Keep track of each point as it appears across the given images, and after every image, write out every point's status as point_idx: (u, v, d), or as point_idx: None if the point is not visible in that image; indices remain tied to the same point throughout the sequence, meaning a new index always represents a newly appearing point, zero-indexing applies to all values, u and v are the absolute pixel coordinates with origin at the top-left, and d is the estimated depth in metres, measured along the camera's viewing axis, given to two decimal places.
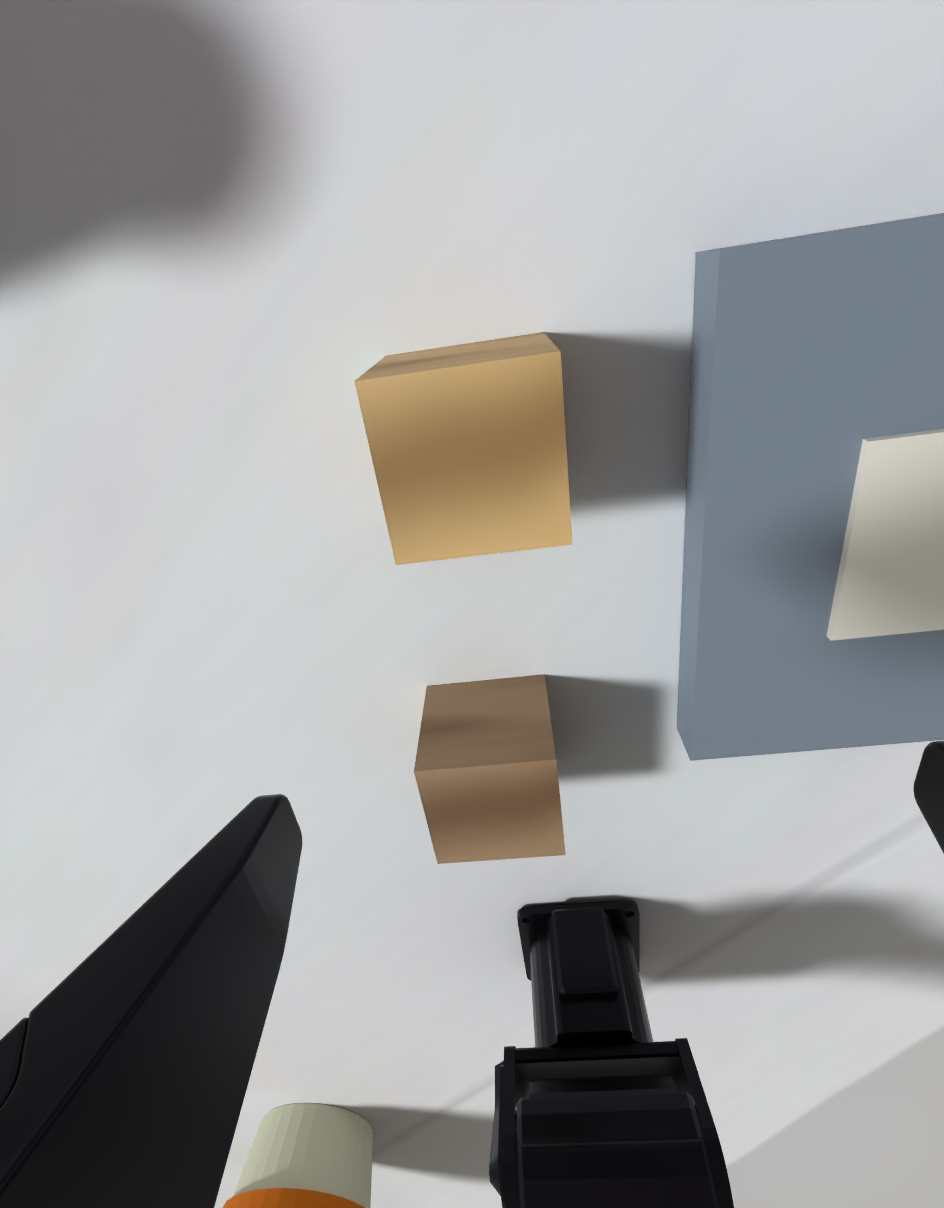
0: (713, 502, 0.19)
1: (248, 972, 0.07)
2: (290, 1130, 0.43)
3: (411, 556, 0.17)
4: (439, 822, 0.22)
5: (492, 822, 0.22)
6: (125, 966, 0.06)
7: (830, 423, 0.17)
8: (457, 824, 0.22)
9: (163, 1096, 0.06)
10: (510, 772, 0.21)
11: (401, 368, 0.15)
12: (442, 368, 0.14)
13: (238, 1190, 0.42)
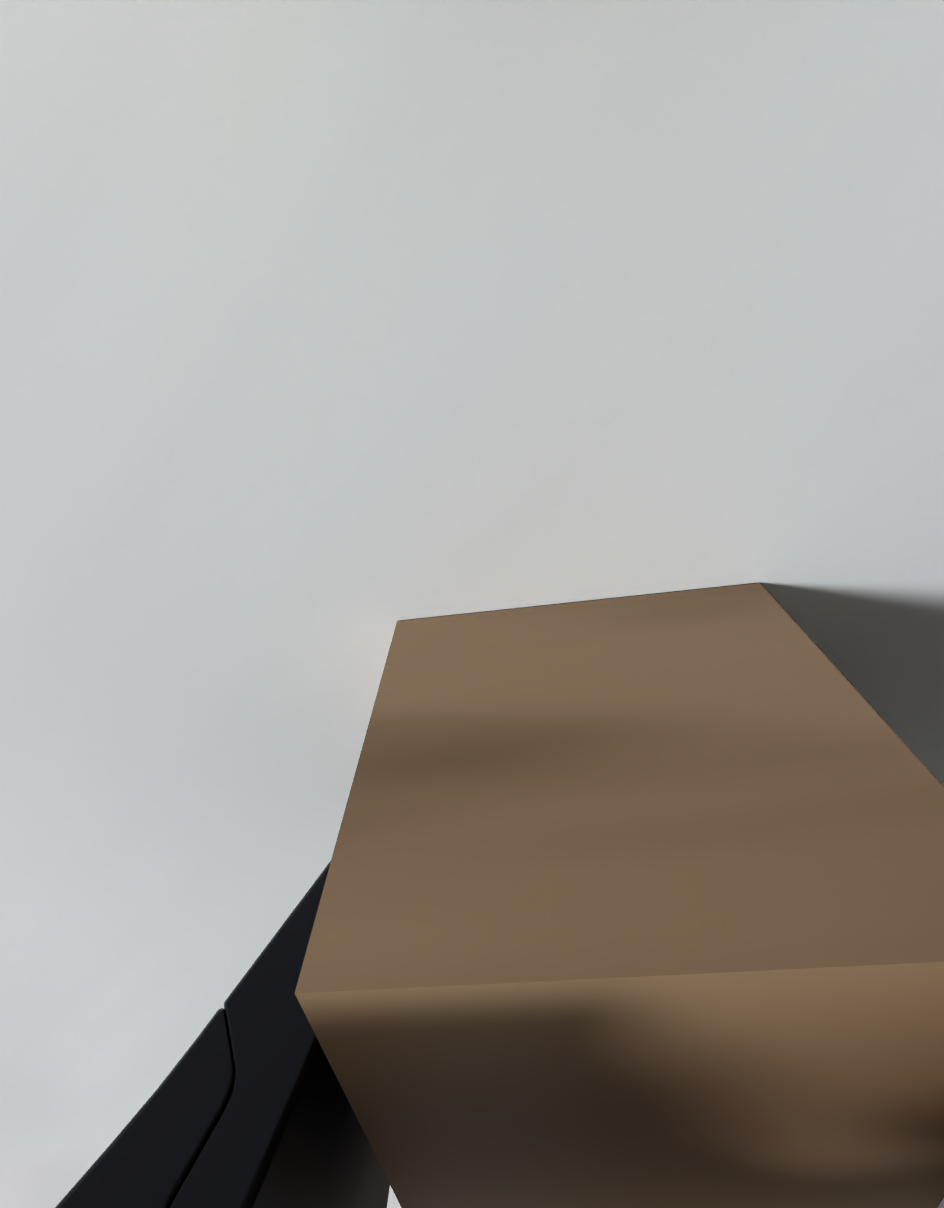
0: None
1: None
2: None
3: None
4: (427, 1159, 0.05)
5: (654, 1165, 0.05)
6: None
7: None
8: (502, 1166, 0.05)
9: None
10: (804, 1008, 0.04)
11: None
12: None
13: None
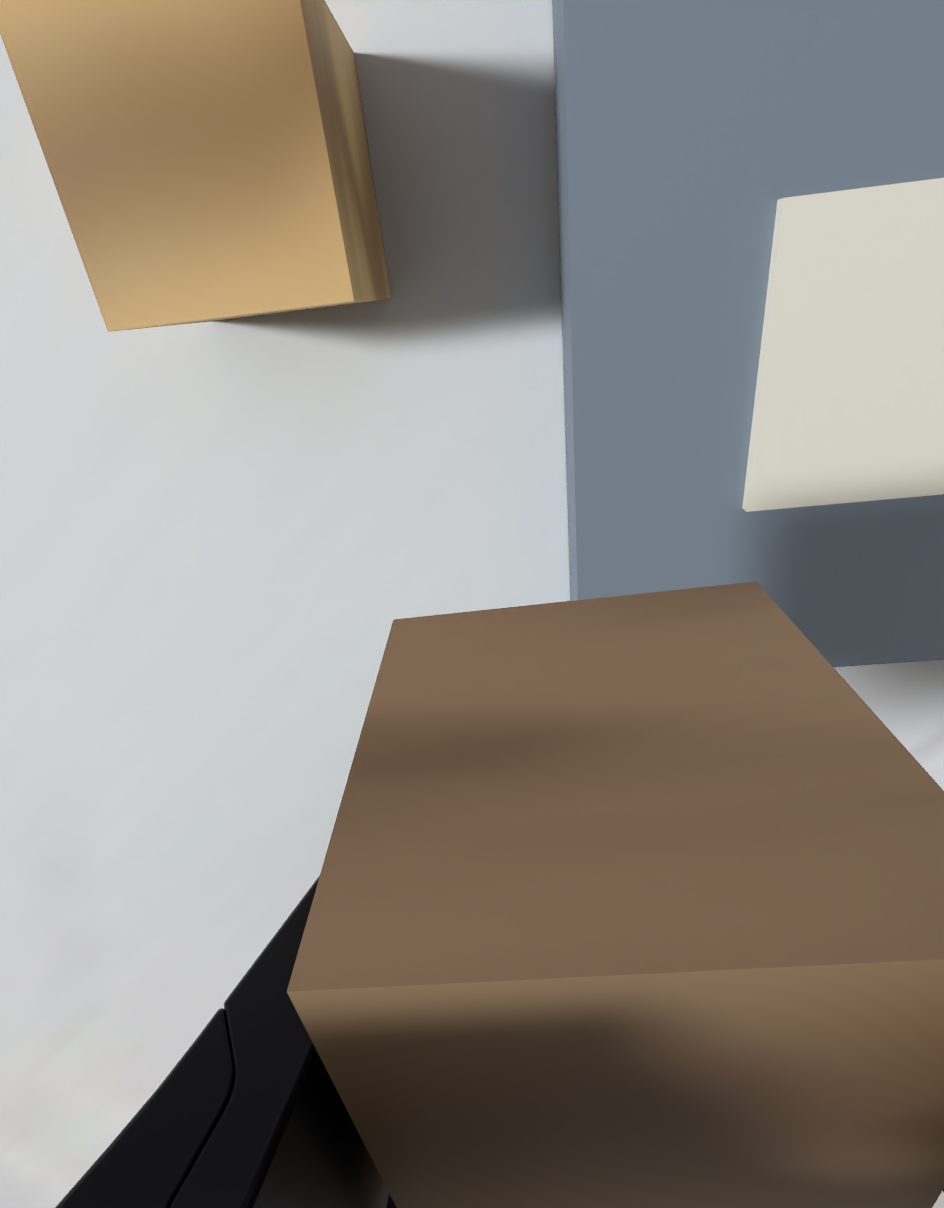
0: (581, 297, 0.14)
1: None
2: None
3: (127, 317, 0.12)
4: (422, 1158, 0.05)
5: (648, 1165, 0.05)
6: None
7: (731, 172, 0.13)
8: (496, 1163, 0.05)
9: None
10: (797, 1006, 0.04)
11: None
12: None
13: None
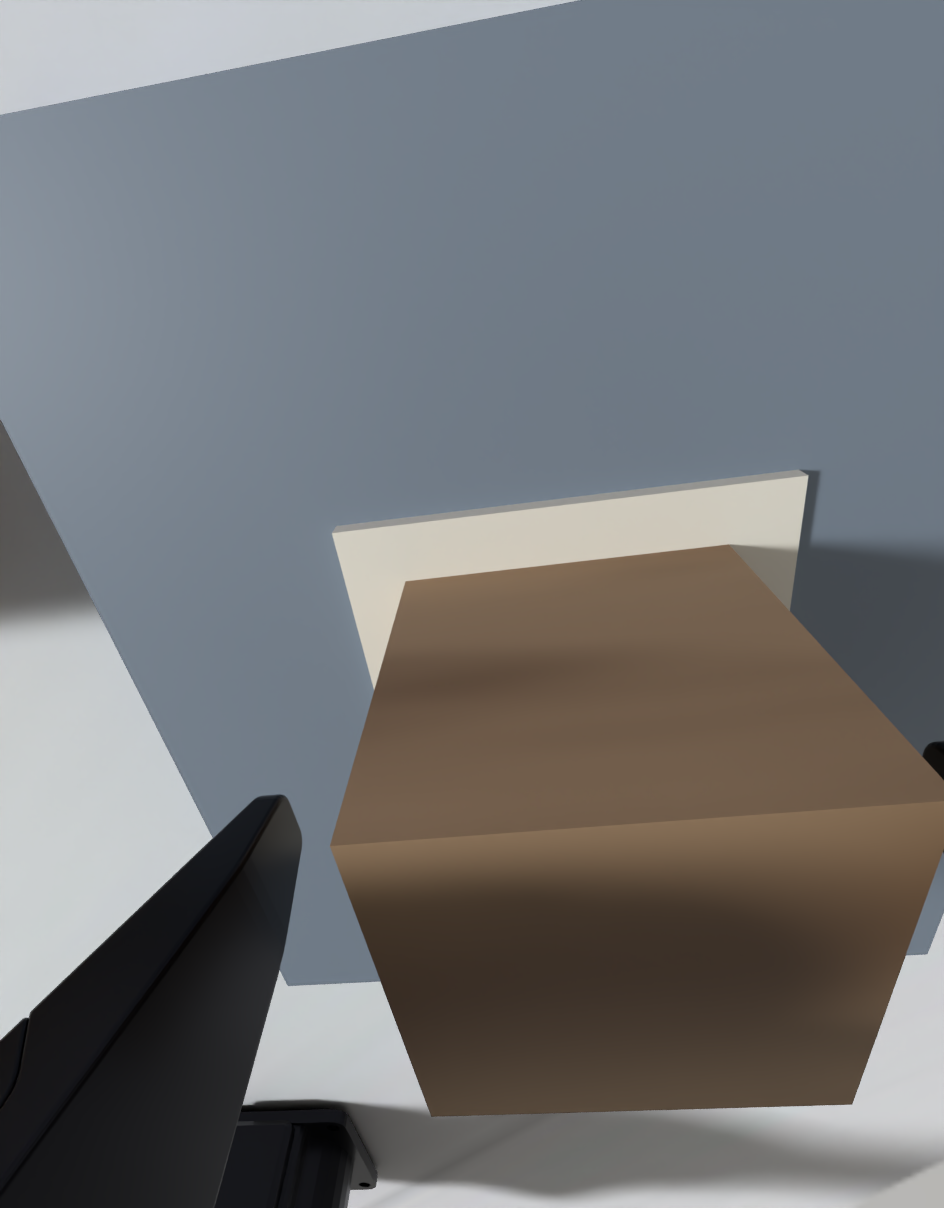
0: (122, 631, 0.10)
1: (248, 972, 0.07)
2: None
3: None
4: (435, 1014, 0.06)
5: (626, 1018, 0.06)
6: (125, 966, 0.06)
7: (262, 498, 0.09)
8: (499, 1021, 0.06)
9: (163, 1096, 0.06)
10: (737, 854, 0.05)
11: None
12: None
13: None
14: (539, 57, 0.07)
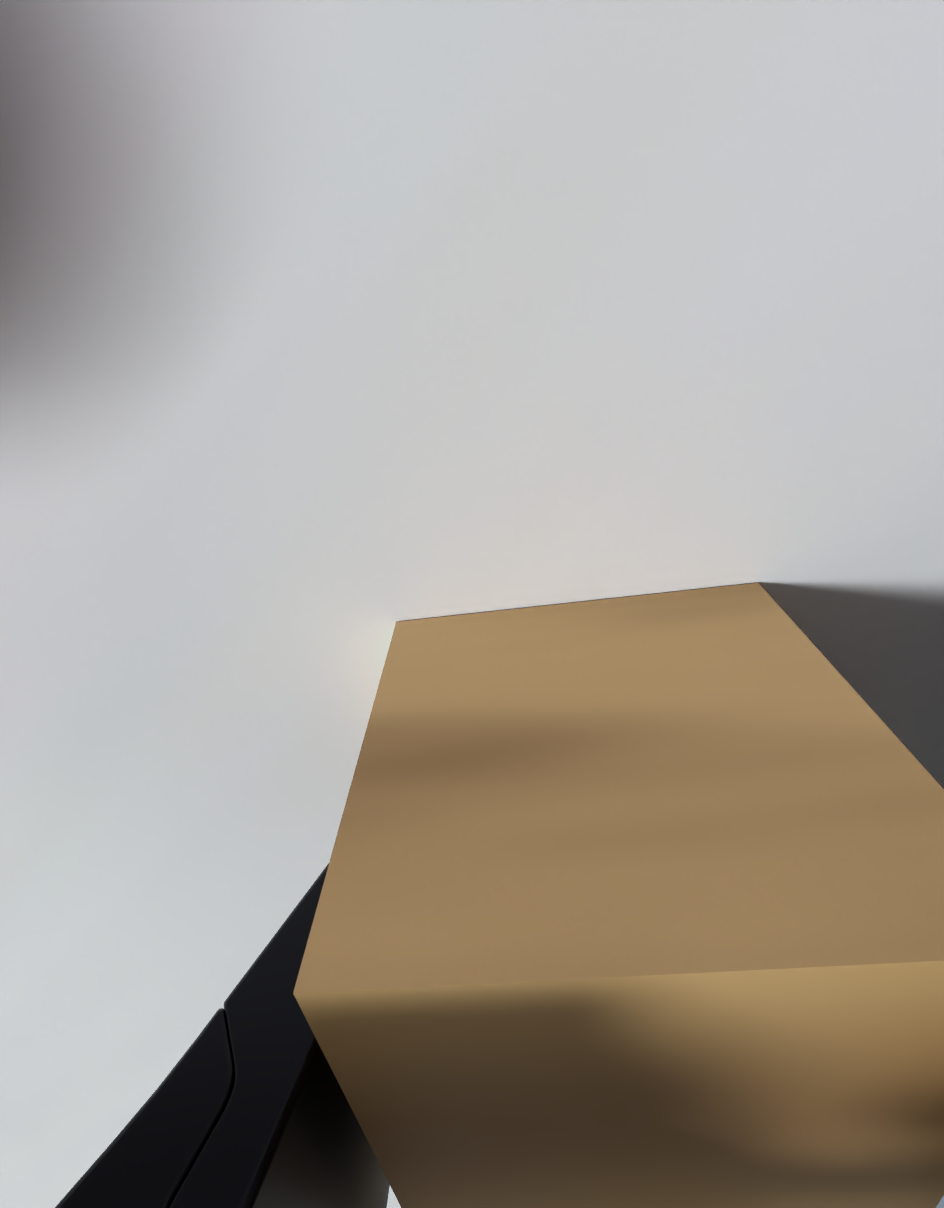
0: None
1: None
2: None
3: None
4: None
5: None
6: None
7: None
8: None
9: None
10: None
11: (449, 839, 0.05)
12: (613, 967, 0.04)
13: None
14: None
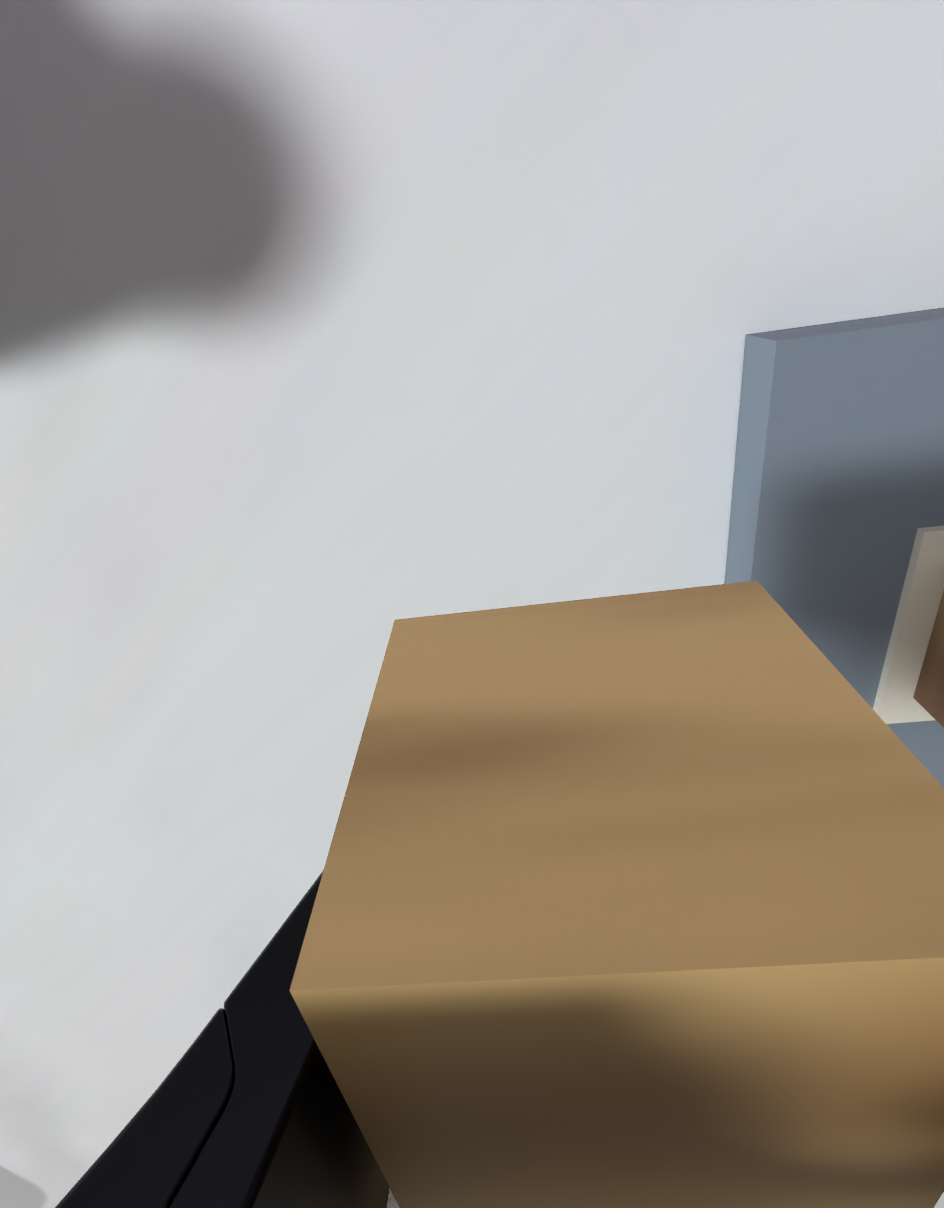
0: None
1: None
2: None
3: None
4: None
5: None
6: None
7: (884, 512, 0.16)
8: None
9: None
10: None
11: (447, 837, 0.05)
12: (610, 965, 0.04)
13: None
14: None
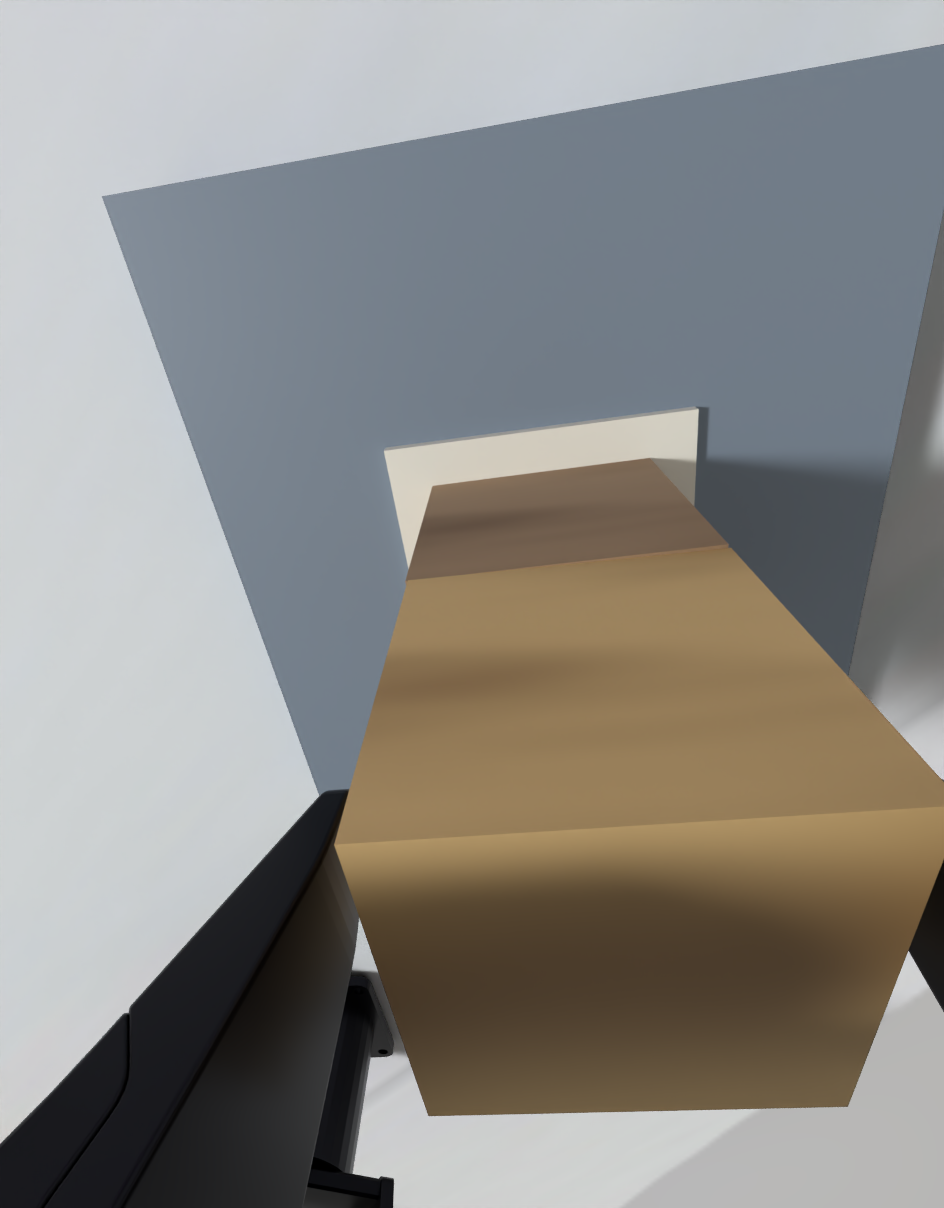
0: (232, 527, 0.15)
1: (328, 968, 0.07)
2: None
3: (465, 1106, 0.07)
4: None
5: None
6: (220, 961, 0.06)
7: (336, 427, 0.13)
8: None
9: (262, 1092, 0.06)
10: None
11: (459, 740, 0.06)
12: (592, 822, 0.05)
13: None
14: (519, 148, 0.11)
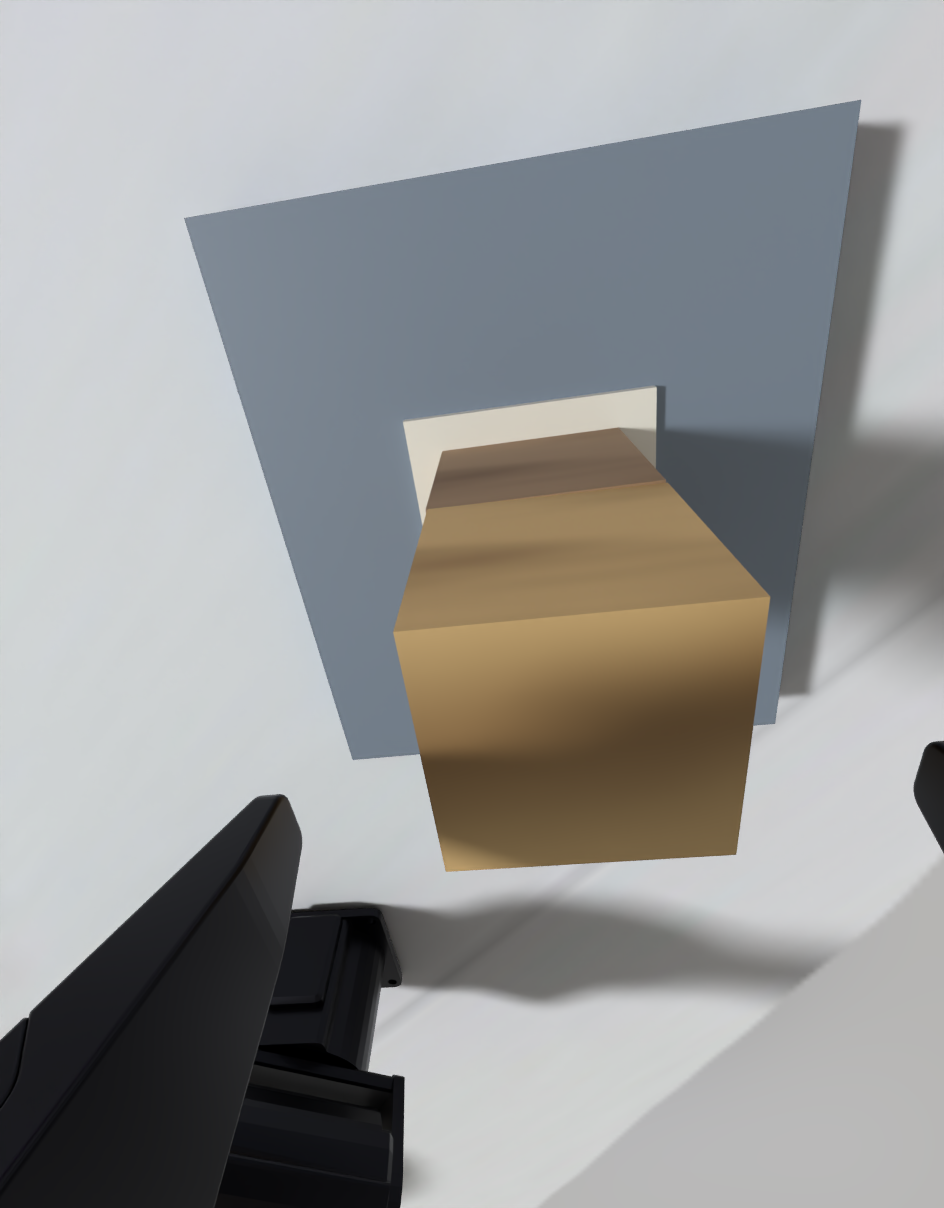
0: (276, 487, 0.18)
1: (248, 971, 0.07)
2: None
3: (471, 862, 0.10)
4: None
5: None
6: (125, 966, 0.06)
7: (364, 403, 0.17)
8: None
9: (163, 1095, 0.06)
10: None
11: (468, 586, 0.09)
12: (551, 615, 0.08)
13: None
14: (511, 181, 0.14)
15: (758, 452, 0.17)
